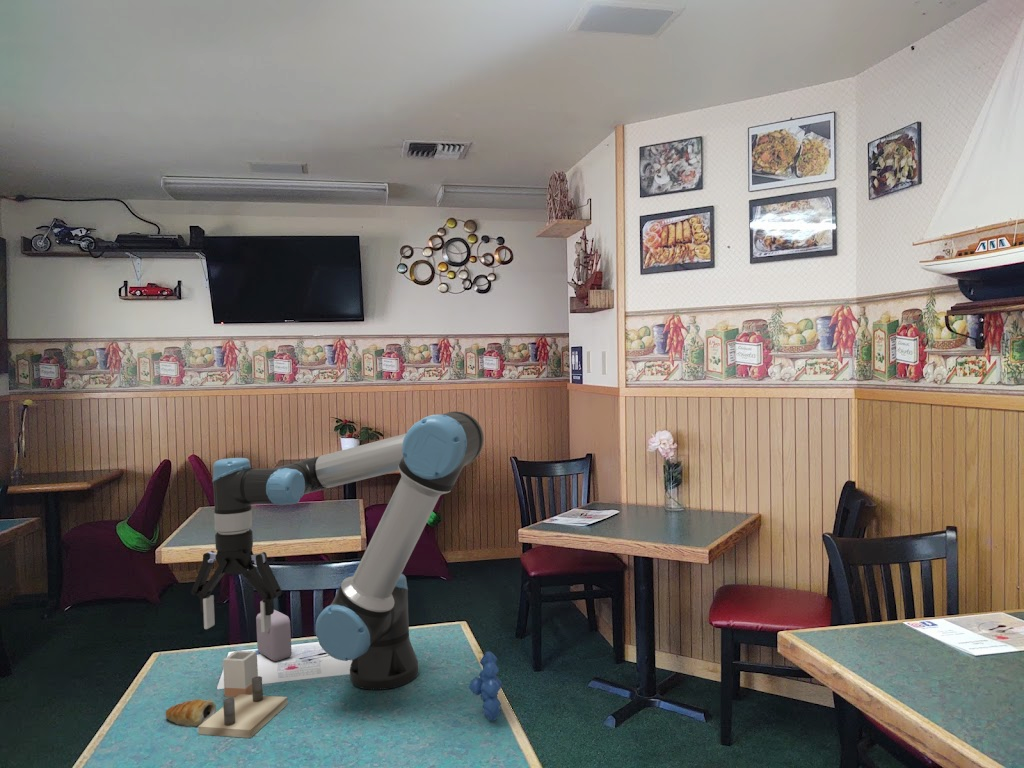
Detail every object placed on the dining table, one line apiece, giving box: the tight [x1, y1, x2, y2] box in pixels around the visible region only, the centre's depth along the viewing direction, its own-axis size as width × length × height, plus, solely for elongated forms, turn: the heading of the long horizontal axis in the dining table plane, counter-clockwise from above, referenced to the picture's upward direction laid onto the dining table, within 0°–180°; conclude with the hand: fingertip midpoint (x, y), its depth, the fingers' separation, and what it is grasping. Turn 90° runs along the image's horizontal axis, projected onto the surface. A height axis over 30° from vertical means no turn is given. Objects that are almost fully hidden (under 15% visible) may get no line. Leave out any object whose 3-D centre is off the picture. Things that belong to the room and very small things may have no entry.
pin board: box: [197, 675, 288, 739], centre depth 148 cm, size 11×14×6 cm
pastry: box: [165, 698, 217, 727], centre depth 149 cm, size 9×7×4 cm
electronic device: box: [255, 609, 292, 662], centre depth 181 cm, size 10×5×10 cm, turn 43°
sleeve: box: [222, 650, 259, 698], centre depth 160 cm, size 5×5×8 cm
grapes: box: [468, 650, 503, 722], centre depth 146 cm, size 12×7×12 cm, turn 6°
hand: (237, 628), depth 160 cm, fingers open, 13 cm apart
